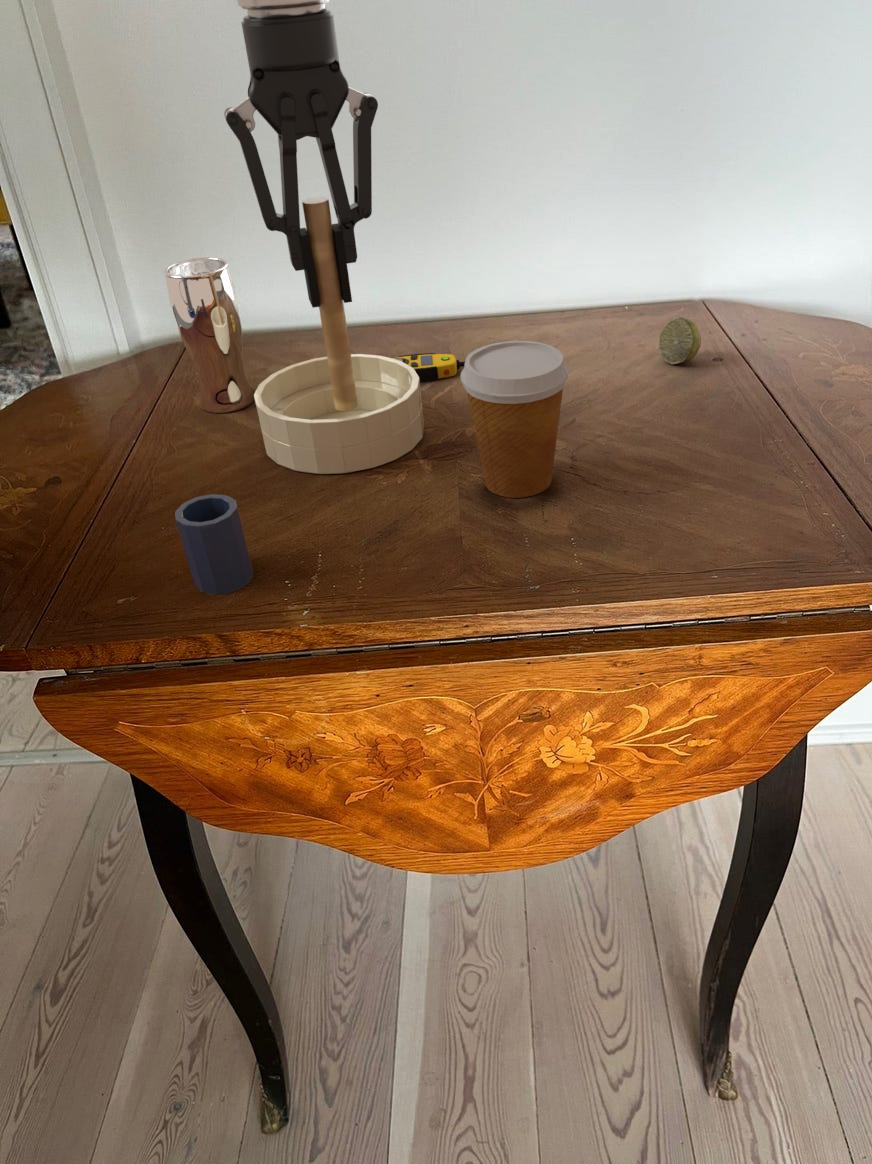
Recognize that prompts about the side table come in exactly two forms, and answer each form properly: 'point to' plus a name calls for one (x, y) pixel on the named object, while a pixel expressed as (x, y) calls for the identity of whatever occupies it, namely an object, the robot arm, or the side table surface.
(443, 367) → the yellow handheld meter
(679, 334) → the lime
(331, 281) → the stick
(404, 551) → the side table surface
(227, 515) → the holder
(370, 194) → the robot arm
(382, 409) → the bowl
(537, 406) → the disposable coffee cup
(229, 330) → the beer glass
